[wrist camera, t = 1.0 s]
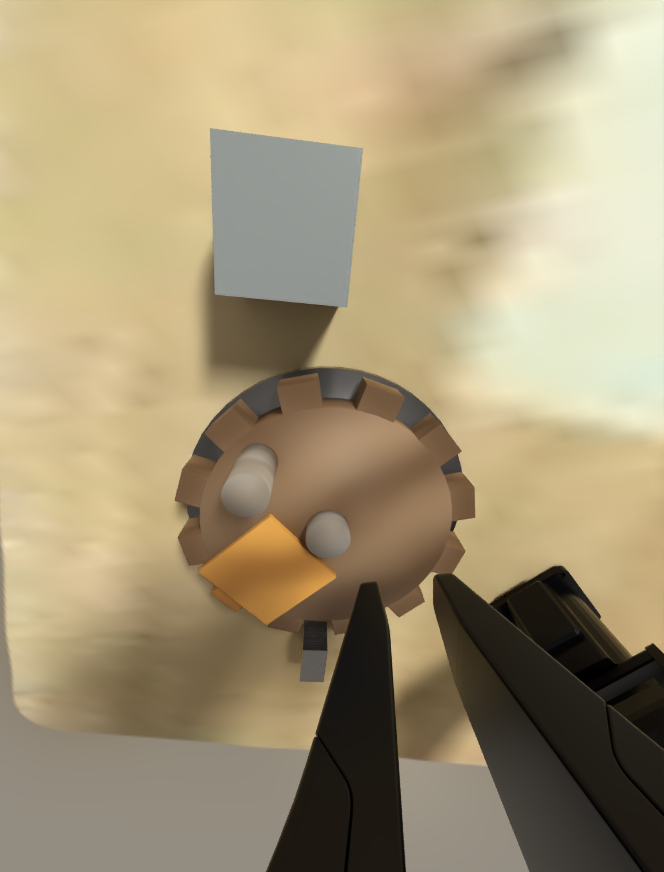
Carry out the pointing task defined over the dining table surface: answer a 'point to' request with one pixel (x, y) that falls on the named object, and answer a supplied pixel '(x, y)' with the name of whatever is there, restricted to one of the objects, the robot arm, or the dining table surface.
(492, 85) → the dining table surface
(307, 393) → the index wheel
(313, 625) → the pointer
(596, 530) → the dining table surface
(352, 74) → the dining table surface
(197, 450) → the base plate
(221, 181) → the block
